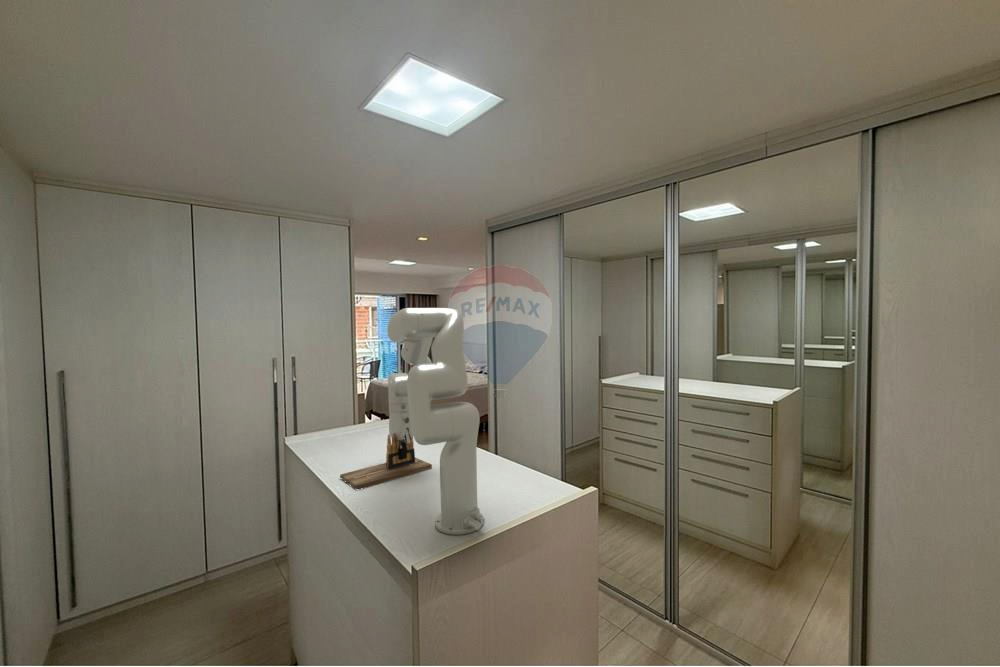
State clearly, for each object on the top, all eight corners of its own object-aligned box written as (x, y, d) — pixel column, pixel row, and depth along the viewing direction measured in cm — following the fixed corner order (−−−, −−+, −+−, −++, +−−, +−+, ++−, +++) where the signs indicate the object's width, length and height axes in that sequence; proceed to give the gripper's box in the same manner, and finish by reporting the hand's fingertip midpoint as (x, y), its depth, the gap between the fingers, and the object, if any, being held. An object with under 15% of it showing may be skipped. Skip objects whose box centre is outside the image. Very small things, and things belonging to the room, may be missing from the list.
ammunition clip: (388, 469, 144) (387, 435, 144) (386, 467, 145) (385, 434, 145) (415, 462, 151) (414, 429, 151) (412, 460, 152) (411, 428, 152)
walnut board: (431, 468, 149) (431, 464, 149) (357, 490, 130) (357, 485, 130) (412, 459, 159) (412, 455, 159) (340, 478, 141) (340, 474, 141)
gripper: (420, 408, 145) (421, 460, 145) (398, 403, 156) (399, 451, 157) (400, 411, 140) (402, 465, 140) (380, 406, 151) (381, 455, 152)
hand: (400, 457), depth 148 cm, fingers closed on ammunition clip, 2 cm apart
